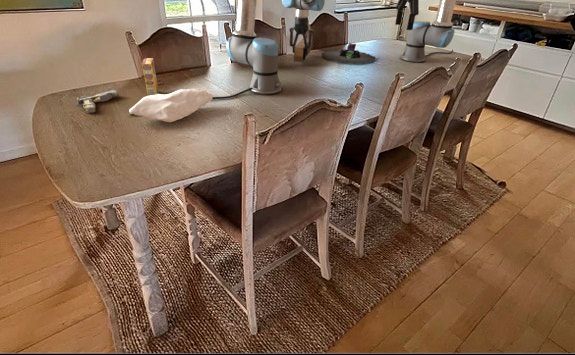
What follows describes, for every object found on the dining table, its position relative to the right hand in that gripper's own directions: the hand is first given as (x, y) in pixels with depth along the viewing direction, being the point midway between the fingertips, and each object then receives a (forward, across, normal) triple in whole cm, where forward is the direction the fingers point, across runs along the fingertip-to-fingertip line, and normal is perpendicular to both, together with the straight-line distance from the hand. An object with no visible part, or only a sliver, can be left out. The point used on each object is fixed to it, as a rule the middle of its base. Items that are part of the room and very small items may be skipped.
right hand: (403, 27), depth 184 cm
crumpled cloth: (+27, -38, +113) cm, 122 cm away
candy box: (+27, -15, +124) cm, 128 cm away
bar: (+25, +42, +42) cm, 64 cm away
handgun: (+27, -24, +144) cm, 148 cm away
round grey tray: (+27, +48, +10) cm, 56 cm away
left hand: (+24, +33, +46) cm, 62 cm away
